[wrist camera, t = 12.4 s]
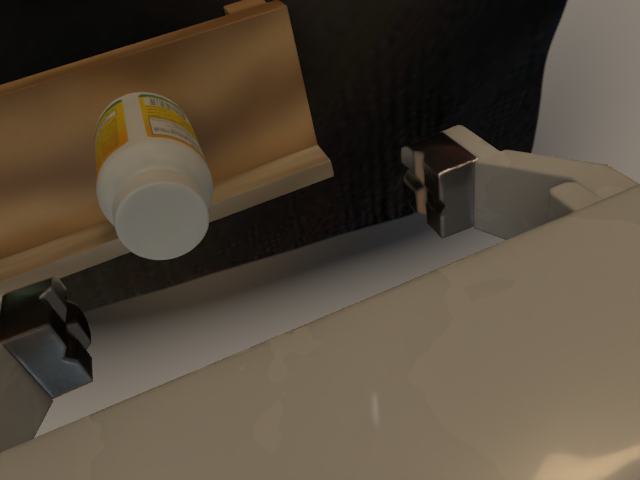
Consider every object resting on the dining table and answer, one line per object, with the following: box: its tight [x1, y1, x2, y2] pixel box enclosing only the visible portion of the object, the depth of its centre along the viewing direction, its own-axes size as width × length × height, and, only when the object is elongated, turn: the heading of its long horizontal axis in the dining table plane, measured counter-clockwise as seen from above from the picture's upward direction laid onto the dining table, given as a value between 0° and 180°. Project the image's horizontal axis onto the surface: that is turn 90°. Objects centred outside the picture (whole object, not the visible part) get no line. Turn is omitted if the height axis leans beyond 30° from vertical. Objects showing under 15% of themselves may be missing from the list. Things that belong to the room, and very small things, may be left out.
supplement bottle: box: [95, 92, 213, 260], centre depth 26 cm, size 5×5×10 cm
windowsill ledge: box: [0, 0, 334, 294], centre depth 32 cm, size 10×22×8 cm, turn 102°
